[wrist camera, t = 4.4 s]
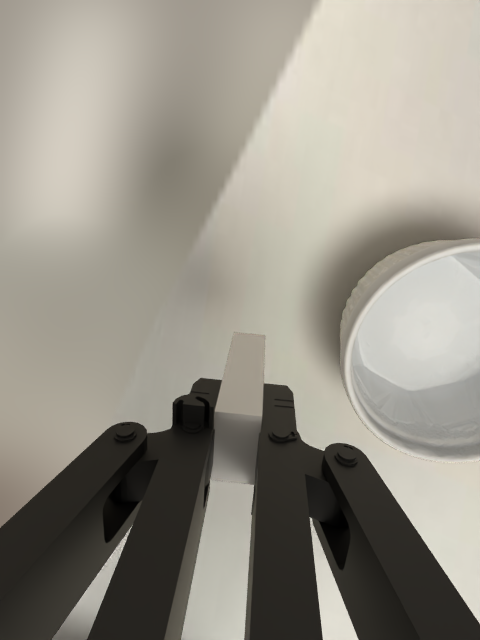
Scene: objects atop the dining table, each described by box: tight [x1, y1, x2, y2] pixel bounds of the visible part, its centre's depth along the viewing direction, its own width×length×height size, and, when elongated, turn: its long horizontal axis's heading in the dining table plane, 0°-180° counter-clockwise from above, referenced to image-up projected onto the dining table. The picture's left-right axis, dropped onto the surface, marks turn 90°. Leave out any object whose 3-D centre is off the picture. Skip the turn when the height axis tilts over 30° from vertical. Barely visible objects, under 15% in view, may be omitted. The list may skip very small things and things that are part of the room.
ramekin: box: [340, 238, 480, 463], centre depth 24 cm, size 13×13×7 cm
